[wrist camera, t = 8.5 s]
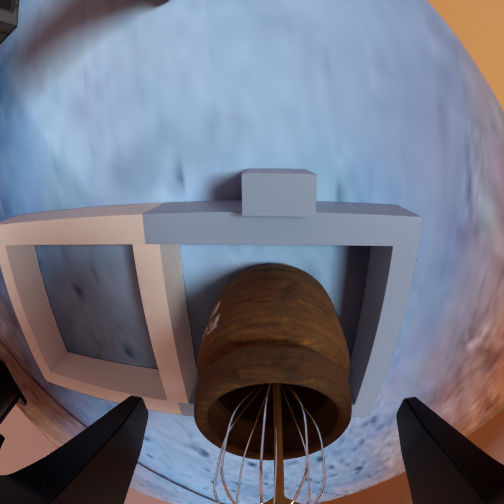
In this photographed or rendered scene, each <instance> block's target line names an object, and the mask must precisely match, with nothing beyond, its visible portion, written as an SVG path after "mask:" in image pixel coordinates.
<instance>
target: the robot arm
mask: <svg viewBox="0 0 504 504" xmlns="http://www.w3.org/2000/svg"><path fill="white" fill-rule="evenodd" d="M17 402H18V403H20V404H22V405H24V406H26V404H27V402H26V401H25V399H24V398H23V396H22V394H21V393H20V391H19V390H18V388H17V386H16V385H15V383H14V381H13V379H12V378H11V376H10V374H9V372H8V371H7V369H6V367H5V365H4V364H3V362H2V361H0V424H1V423H2V422H3V420H4V419H5V418H6V416H7V415H8V414H9V412H10V411H11V410H12V408H13V407H14V406H15V404H16V403H17ZM396 418H397V425H398V431H399V438H400V446H401V452H402V457H403V461H404V465H405V469H406V473H407V478H408V482H409V487H410V491H411V496H412V501H413V504H504V465H503V464H501V463H499V462H498V461H496V460H495V459H493V458H492V457H490V456H489V455H488V454H486V453H485V452H484V451H483V450H481V449H480V448H478V447H477V446H476V445H475V444H473V443H472V442H471V441H470V440H468V439H467V438H466V437H465V436H464V435H462V434H461V433H460V432H458V431H457V430H456V429H455V428H453V427H452V426H451V425H450V424H448V423H447V422H446V421H445V420H443V419H442V418H441V417H440V416H438V415H437V414H436V413H435V412H433V411H432V410H431V409H430V408H428V407H427V406H426V405H425V404H424V403H422V402H421V401H420V400H419V399H417V398H416V397H409V398H405V399H404V400H403V402H402V404H401V406H400V408H399V410H398V412H397V416H396ZM147 420H148V410H147V408H146V405H145V403H144V400H143V398H142V397H139V396H134V395H131V396H129V397H128V398H126V399H125V400H124V401H122V402H121V403H120V404H118V405H117V406H116V407H114V408H113V409H112V410H110V411H109V412H108V413H106V414H105V415H104V416H102V417H101V418H100V419H98V420H97V421H96V422H94V423H93V424H92V425H90V426H89V427H87V428H86V429H85V430H83V431H82V432H81V433H79V434H78V435H76V436H75V437H74V438H72V439H71V440H69V441H68V442H67V443H65V444H64V445H63V446H61V447H59V448H58V449H56V450H55V451H53V452H52V453H50V454H49V455H47V456H46V457H44V458H42V459H40V460H39V461H37V462H35V463H33V464H31V465H29V466H27V467H25V468H23V469H21V470H19V471H17V472H15V473H12V474H9V475H0V504H124V501H125V498H126V495H127V492H128V488H129V486H130V483H131V479H132V476H133V473H134V470H135V467H136V464H137V461H138V458H139V455H140V452H141V448H142V444H143V439H144V434H145V429H146V424H147ZM4 439H5V438H4V437H3V436H2V435H1V434H0V448H1V446H2V444H3V442H4Z"/></svg>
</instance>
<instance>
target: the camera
mask: <svg viewBox="0 0 504 504" xmlns="http://www.w3.org/2000/svg"><path fill="white" fill-rule="evenodd" d="M18 6H19V0H0V43H1V42H2V40H3V39H4V38H5V37H6V36H7V35H8V34H9V33H10V32H11V31H12V30H13V29H14V28H15V27H16V26H17V18H18Z"/></svg>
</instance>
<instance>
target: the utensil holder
mask: <svg viewBox="0 0 504 504" xmlns="http://www.w3.org/2000/svg"><path fill="white" fill-rule="evenodd" d="M349 371H350V359H349V352H348V347H347V343H346V340H345V336H344V333H343V330H342V327H341V325H340V322H339V319H338V316H337V314H336V311H335V308H334V306H333V304H332V301H331V299H330V297H329V296H328V294H327V292H326V291H325V289H324V288H323V286H322V285H321V284H320V283H319V282H318V281H317V280H316V279H315V278H314V277H312V276H311V275H310V274H308V273H306V272H305V271H303V270H300V269H298V268H295V267H292V266H288V265H282V264H266V265H260V266H256V267H253V268H250V269H248V270H245V271H243V272H241V273H240V274H238V275H237V276H235V277H234V278H233V279H232V280H231V281H230V282H229V283H228V284H227V285H226V286H225V287H224V288H223V290H222V291H221V293H220V294H219V296H218V298H217V300H216V302H215V304H214V307H213V309H212V312H211V314H210V317H209V320H208V323H207V326H206V328H205V331H204V334H203V338H202V341H201V344H200V348H199V352H198V358H197V375H198V381H199V382H198V384H197V387H196V390H195V396H194V418H195V422H196V425H197V427H198V429H199V430H200V432H201V433H202V434H203V435H204V436H205V437H206V438H207V439H208V440H209V441H210V442H211V443H213V444H214V445H216V446H217V447H219V448H221V451H220V454H219V458H218V463H217V468H216V473H215V478H214V486H213V488H214V495H215V498H216V500H217V502H218V504H221V503H220V502H219V500H218V497H217V494H216V479H217V473H218V468H219V463H220V459H221V454H222V459H221V478H222V482H223V485H224V488H225V491H226V493H227V495H228V497H229V498H230V500H231V501H232V503H233V504H238V496H239V489H240V482H241V475H242V469H243V464H244V459H245V457H246V458H251V459H258V460H260V475H259V482H260V504H299V503H297V502H294V501H295V500H296V498H297V496H298V494H299V493H300V490H301V488H302V486H303V483H304V481H305V477H306V474H307V476H308V499H307V504H309V499H310V479H309V463H308V455H309V454H312V453H314V452H317V451H319V450H322V461H323V485H322V489H321V492H320V494H319V496H318V497H317V499H316V500H315V502H314V503H313V504H316V503H317V501H318V500H319V498H320V496H321V494H322V492H323V490H324V486H325V460H324V450H323V448H325V447H327V446H328V445H330V444H331V443H333V442H334V441H335V440H336V439H338V438H339V437H340V436H341V435H342V434H343V432H344V431H345V430H346V428H347V427H348V425H349V422H350V420H351V415H352V393H351V387H350V384H349V381H348V377H349ZM222 451H223V453H222ZM225 451H227V452H229V453H232V454H235V455H238V456H242V457H243V460H242V465H241V470H240V476H239V482H238V489H237V496H236V503H235V502H234V500H233V499H232V497H231V495H230V494H229V492H228V489H227V487H226V484H225V480H224V475H223V462H224V455H225ZM302 456H306V465H305V471H304V475H303V479H302V482H301V484H300V487H299V489H298V491H297V493H296V495H295V497H294V498H293V500H290V499H287V498H286V497H285V496H284V468H283V460H286V459H292V458H298V457H302ZM263 460H274V497H273V498H272V499H271V500H269V501H267V502H265V503H263V494H262V461H263Z"/></svg>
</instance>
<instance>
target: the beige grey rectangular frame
mask: <svg viewBox="0 0 504 504" xmlns="http://www.w3.org/2000/svg"><path fill="white" fill-rule="evenodd" d="M241 175H242V201H196V202H169V203H148V204H130V205H115V206H101V207H89V208H78V209H67V210H57V211H48V212H39V213H30V214H22V215H17V216H14V217H12V218H9V219H7V220H4V221H2V222H0V266H1V270H2V273H3V277H4V280H5V284H6V287H7V290H8V293H9V296H10V299H11V302H12V305H13V308H14V311H15V313H16V316H17V319H18V321H19V324H20V326H21V329H22V331H23V334H24V336H25V339H26V341H27V343H28V345H29V348H30V350H31V352H32V354H33V356H34V358H35V360H36V362H37V364H38V366H39V368H40V370H41V372H42V374H43V376H44V378H45V380H46V381H48V382H51V383H54V384H56V385H59V386H62V387H65V388H68V389H71V390H74V391H77V392H80V393H84V394H87V395H90V396H94V397H98V398H101V399H105V400H109V401H113V402H117V403H121V402H122V401H124V400H125V399H126V398H128V397H129V396H131V395H134V396H139V397H142V398H143V400H144V403H145V405H146V408H147V409H149V410H154V411H160V412H166V413H172V414H179V415H186V416H194V396H195V390H196V387H197V384H198V382H199V381H198V375H197V368H196V362H195V356H194V350H193V344H192V338H191V331H190V324H189V317H188V310H187V303H186V295H185V287H184V278H183V269H182V260H181V250H180V244H246V245H354V246H371V248H370V256H369V263H368V271H367V277H366V284H365V290H364V296H363V302H362V308H361V313H360V318H359V323H358V328H357V333H356V338H355V342H354V347H353V351H352V355H351V360H350V371H349V377H348V381H349V384H350V387H351V393H352V415H351V418H352V417H361V416H368V415H370V413H371V411H372V408H373V406H374V403H375V401H376V399H377V396H378V394H379V391H380V388H381V386H382V383H383V380H384V378H385V375H386V372H387V369H388V366H389V363H390V360H391V357H392V354H393V351H394V348H395V345H396V342H397V338H398V335H399V331H400V328H401V324H402V321H403V317H404V313H405V309H406V305H407V301H408V297H409V292H410V288H411V283H412V278H413V274H414V268H415V263H416V257H417V252H418V245H419V239H420V232H421V224H422V217H421V216H419V215H417V214H415V213H413V212H411V211H409V210H407V209H405V208H402V207H400V206H398V205H388V204H371V203H350V202H322V201H316V186H317V174H315V173H313V172H310V171H308V170H306V169H247V170H246V171H245V172H243V173H242V174H241ZM87 244H132V245H133V252H134V258H135V265H136V271H137V277H138V282H139V288H140V293H141V298H142V303H143V308H144V313H145V317H146V322H147V326H148V331H149V335H150V339H151V343H152V347H153V351H154V355H155V359H156V362H157V366H158V369H151V368H145V367H138V366H132V365H126V364H121V363H115V362H110V361H105V360H100V359H96V358H91V357H87V356H82V355H78V354H74V353H70V352H67V350H66V347H65V345H64V342H63V340H62V337H61V335H60V332H59V329H58V326H57V324H56V321H55V318H54V315H53V312H52V309H51V306H50V303H49V300H48V297H47V293H46V290H45V286H44V283H43V279H42V275H41V272H40V268H39V263H38V259H37V255H36V250H35V246H34V245H87Z"/></svg>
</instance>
